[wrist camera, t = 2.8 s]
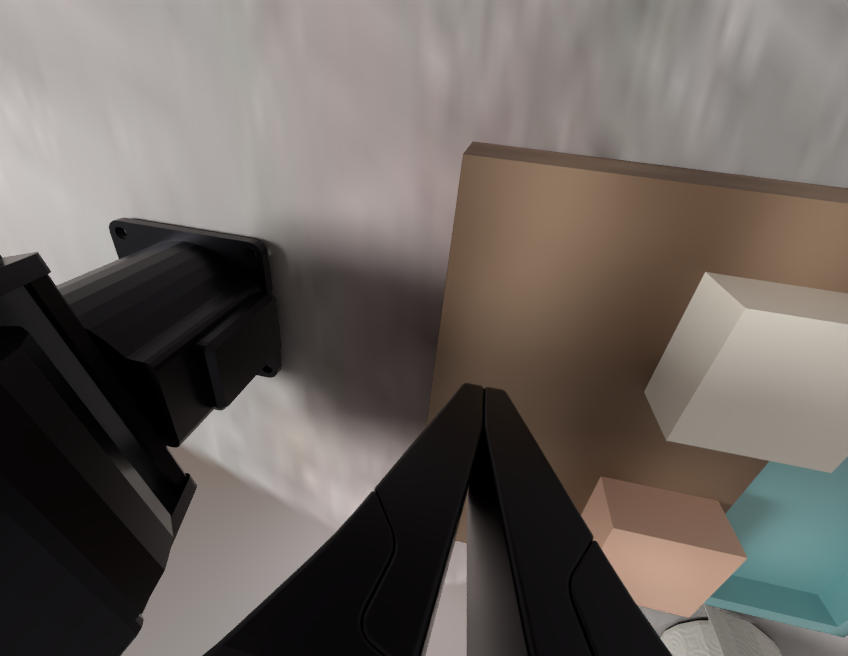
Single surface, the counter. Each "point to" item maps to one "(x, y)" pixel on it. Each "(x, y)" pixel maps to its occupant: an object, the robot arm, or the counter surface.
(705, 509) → the terracotta block
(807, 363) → the cream tile
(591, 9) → the counter surface
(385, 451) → the counter surface
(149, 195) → the counter surface
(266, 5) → the counter surface
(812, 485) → the tray
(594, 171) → the walnut plate
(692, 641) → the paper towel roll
